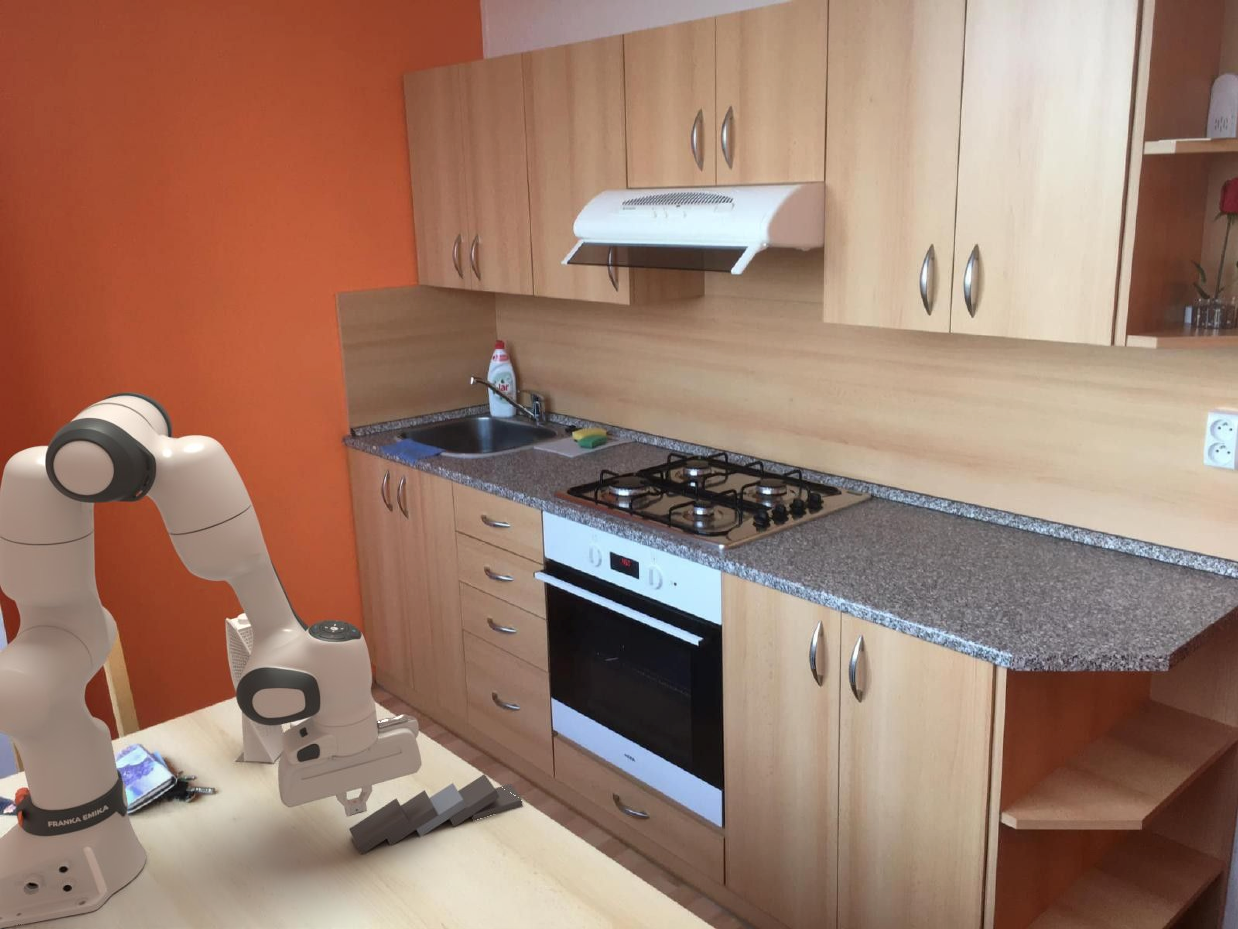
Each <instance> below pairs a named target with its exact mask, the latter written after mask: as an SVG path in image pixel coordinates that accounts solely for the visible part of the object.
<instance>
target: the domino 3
mask: <svg viewBox="0 0 1238 929" xmlns="http://www.w3.org/2000/svg"><path fill="white" fill-rule="evenodd" d="M458 791H459V790H458V788H457V787H456V785H455V784H454V783H450V784H449V785H448V786H446V787H444V788H443V789H442V790H439V791H438V792H437V793H435V794H433V795H432V796H430V797H429V799H430V800H431V802H432V804H433V806H434V808H435V809H436V811H437V813H438V815H437V816H436V817H434V818H432V819H431V820H429V821H428V822H426V823H425V824H423V825H422V826H420V827H419V828H417V829H416V830H415V831H417V834H418V835H419V837H423V836H425V835H426V834H428V833H429V832H430V831H432V830H434V829H435V828H437V827H438V826H440V825H441V824H444V822H446V821H447V820H450V819H449V818H451V817H452V816H454V815H456V814H457V813H459V812H460V811H462V810H463V809H465V808H466V807H467V806H466V804H465V802H464V800H463V798H462V797H461V795H460V794H459V792H458Z"/></svg>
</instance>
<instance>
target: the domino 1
mask: <svg viewBox="0 0 1238 929" xmlns="http://www.w3.org/2000/svg"><path fill="white" fill-rule="evenodd" d="M401 805H402V804H401V803H400V802H399V800H398V798H394V799H392V800H391V801H390V802H388V803H387V804H385V805H384V806H382V807H381V808H379V809H377V810H376V811H373V813H372V814H369V815H368V816H366V817H365V818H364V819H362V820H360V821H359V822H357V823H356V824H354V825H352V826H351V827H350V828H348V829H349V831H350V834H351V837H352V839H353V842H354V845H355V848H356V849H357V850H358V852H359V854H360V855H361V856H362V855H364V854H365V853H366V852H368V851H370V850H371V849H373V848H374V847H376V846H377V845H378V844H380V843H382V842H383V841H385V840H387V838H388V837H389V836H391V835H392V834H394V833H396V832H397V831H399V830H400V829H402V828H403V827H405V826H406V825H408V824H409V821H408V819H407V817H406V815H405V813H404V811H403V809H402V807H401Z"/></svg>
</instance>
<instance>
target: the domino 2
mask: <svg viewBox="0 0 1238 929" xmlns="http://www.w3.org/2000/svg"><path fill="white" fill-rule="evenodd" d="M429 798H430V797H429V796H428V794H427V792H426V790H422V791H421V792H419V793H418V794H416V795H415V796H413V797H412V798H410V799H409V800H407V801H406V802H404V803H403V804H400V805H401V807H402V809H403V811H404V813H405V815H406V817H407V819H408V821H409V824H408V825H406V826H405V827H403V828H402V829H400V830H399V831H397V832H396V833H394V834H392V835H391V836H389V837H388V838H386V840H387V842H388V843H389V844H390V846H393V845H394V844H396V843H398V842H399V841H401V840H402V839H405V837H407V836H408V835H410V834H411V833H413V832H414V831H417V830H416V829H417V828H419V827H420V826H422V825H423V824H425V823H426V822H428V821H429V820H431V819H432V818H434V817H436V816H437V815H438V813H437V811H436V809H435V808H434V806H433V804H432V802H431V800H430V799H429Z"/></svg>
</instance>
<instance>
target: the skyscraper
mask: <svg viewBox="0 0 1238 929" xmlns="http://www.w3.org/2000/svg"><path fill="white" fill-rule="evenodd" d="M224 624H225V638H226V651H227V660H228V664H229V666H228V667H229V671H230V676H231V680H232V684H233V688H234V691H235V692H236V690H237V686H238V684H239V681H240V678H241V676H242V673H243V671H244V668H245V666H246V665H247V662H248V660H249V657H250V655H251V651H252V645H253V631H252V627H251V625H250V623H249V621H248V619H247V617H246V614H245V612H244V613H241V614H239V615H237V617H235V618H232V619H230V618H228V617H226V619H225V622H224ZM241 728H242V749H243V752H241V754H240V755H239V756H238V757H237V759H236V760H235V762H238V763H253V764H258V763H259V764H271V765H272V764H273V765H275V763H276V762H277V761H278V760H279V759H280V756H281V754H282V752H283V751H284V750H283V745H282V734H283V733H284V732H285V731H284V728H283V724H281V725H273V726H270V725H263V724H259V723H256V722H254V721H252V720H251V719H249V718H248V717H247V716H246V715H245V714H244V713H243V712H242V711H241Z"/></svg>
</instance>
